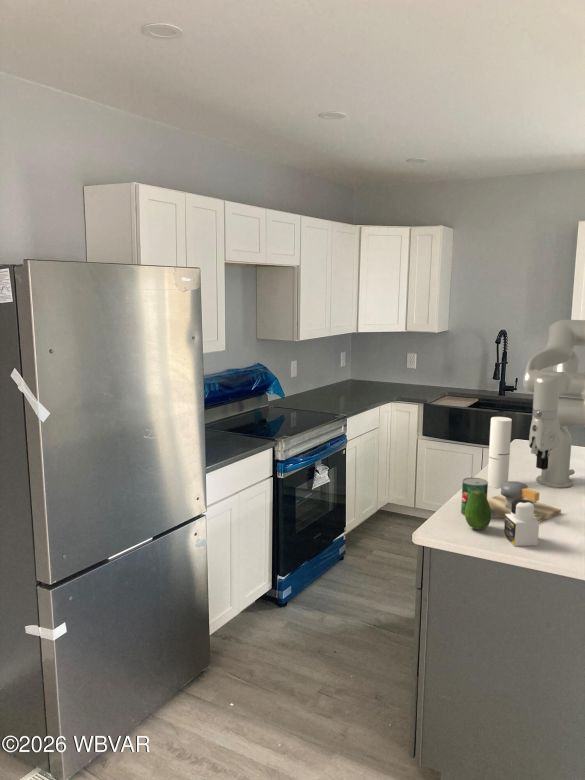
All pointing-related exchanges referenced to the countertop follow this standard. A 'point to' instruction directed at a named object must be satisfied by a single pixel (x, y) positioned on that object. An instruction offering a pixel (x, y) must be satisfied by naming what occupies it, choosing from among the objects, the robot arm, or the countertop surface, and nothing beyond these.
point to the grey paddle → (518, 491)
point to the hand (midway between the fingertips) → (541, 468)
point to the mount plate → (541, 511)
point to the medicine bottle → (521, 524)
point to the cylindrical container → (499, 451)
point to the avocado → (477, 510)
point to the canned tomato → (472, 489)
